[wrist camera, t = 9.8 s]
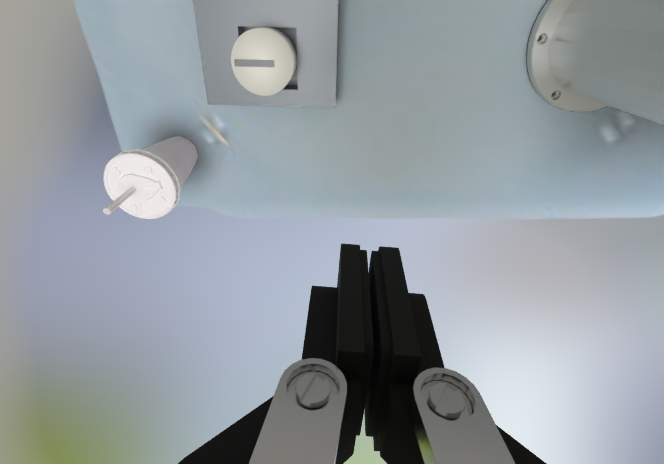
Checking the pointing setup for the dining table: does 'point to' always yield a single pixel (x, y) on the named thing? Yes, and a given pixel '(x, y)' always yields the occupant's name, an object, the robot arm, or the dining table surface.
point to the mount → (292, 20)
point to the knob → (263, 60)
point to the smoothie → (149, 177)
